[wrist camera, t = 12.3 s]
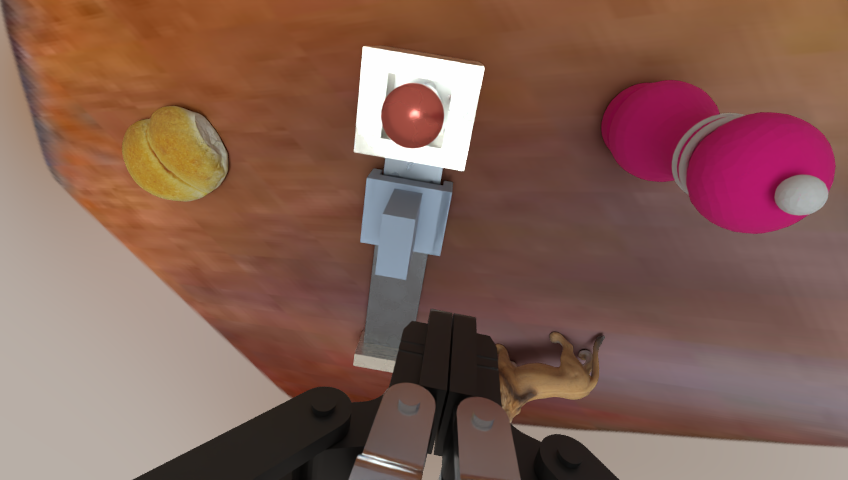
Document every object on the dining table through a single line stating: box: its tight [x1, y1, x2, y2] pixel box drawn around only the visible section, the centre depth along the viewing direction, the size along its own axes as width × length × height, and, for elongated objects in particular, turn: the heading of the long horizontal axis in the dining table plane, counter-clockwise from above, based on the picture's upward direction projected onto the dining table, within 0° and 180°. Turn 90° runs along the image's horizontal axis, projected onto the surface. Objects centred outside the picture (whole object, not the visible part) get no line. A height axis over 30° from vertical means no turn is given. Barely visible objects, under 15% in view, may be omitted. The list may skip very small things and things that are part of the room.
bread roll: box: [122, 106, 228, 201], centre depth 39 cm, size 8×9×4 cm
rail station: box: [353, 46, 485, 372], centre depth 38 cm, size 8×30×8 cm, turn 171°
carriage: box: [360, 169, 453, 280], centre depth 36 cm, size 7×6×9 cm
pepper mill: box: [601, 80, 836, 234], centre depth 27 cm, size 7×7×20 cm
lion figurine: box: [496, 332, 605, 423], centre depth 43 cm, size 15×5×9 cm, turn 115°
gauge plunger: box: [381, 83, 444, 149], centre depth 30 cm, size 4×4×6 cm
